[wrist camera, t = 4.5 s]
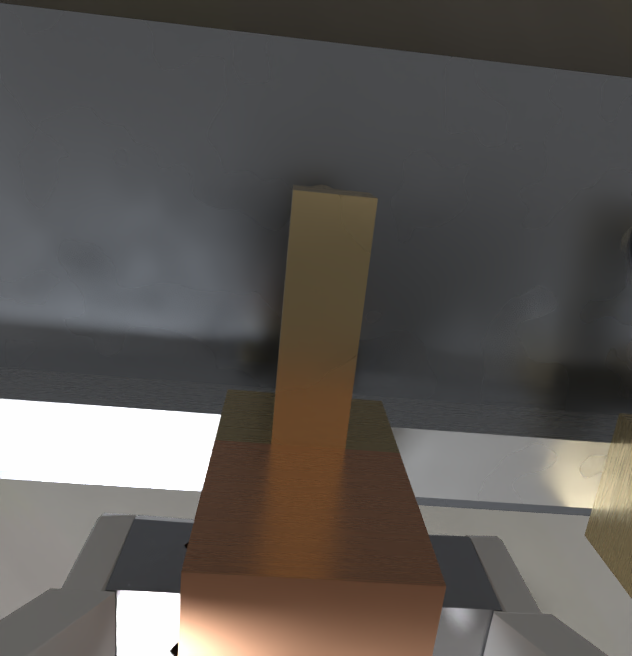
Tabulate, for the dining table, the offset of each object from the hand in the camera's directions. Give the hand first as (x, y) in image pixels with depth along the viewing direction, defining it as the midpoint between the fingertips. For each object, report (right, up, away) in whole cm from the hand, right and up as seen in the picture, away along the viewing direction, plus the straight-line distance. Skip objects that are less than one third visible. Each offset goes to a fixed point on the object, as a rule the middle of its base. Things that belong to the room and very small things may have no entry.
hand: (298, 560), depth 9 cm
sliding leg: (0, +3, +3) cm, 5 cm away
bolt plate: (-1, +5, +5) cm, 7 cm away
